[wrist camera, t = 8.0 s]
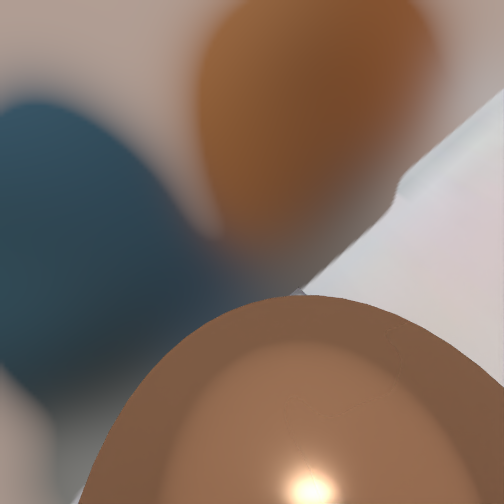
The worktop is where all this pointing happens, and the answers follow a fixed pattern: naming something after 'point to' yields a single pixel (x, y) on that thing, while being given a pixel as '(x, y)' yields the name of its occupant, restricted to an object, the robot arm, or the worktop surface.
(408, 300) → the worktop surface
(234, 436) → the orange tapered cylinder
